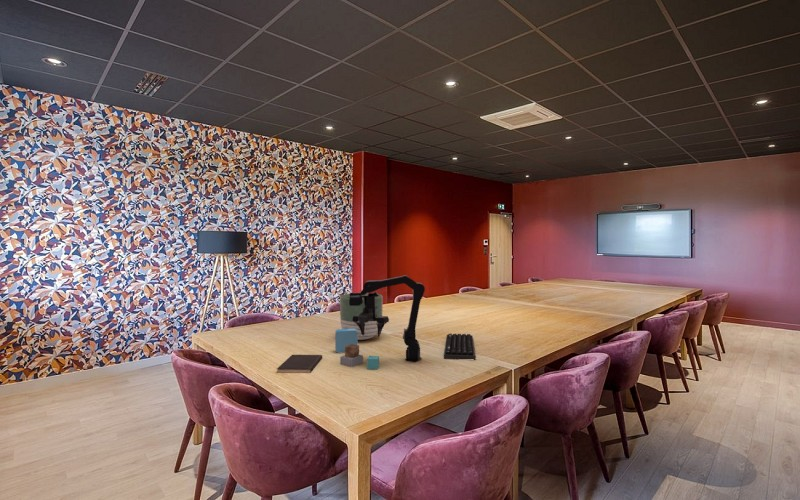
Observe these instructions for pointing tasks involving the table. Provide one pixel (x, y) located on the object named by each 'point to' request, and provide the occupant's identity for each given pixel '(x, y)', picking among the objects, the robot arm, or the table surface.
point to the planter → (350, 311)
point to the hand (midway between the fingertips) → (370, 335)
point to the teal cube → (373, 362)
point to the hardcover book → (300, 363)
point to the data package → (345, 339)
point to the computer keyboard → (459, 347)
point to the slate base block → (351, 360)
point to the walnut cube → (351, 350)
